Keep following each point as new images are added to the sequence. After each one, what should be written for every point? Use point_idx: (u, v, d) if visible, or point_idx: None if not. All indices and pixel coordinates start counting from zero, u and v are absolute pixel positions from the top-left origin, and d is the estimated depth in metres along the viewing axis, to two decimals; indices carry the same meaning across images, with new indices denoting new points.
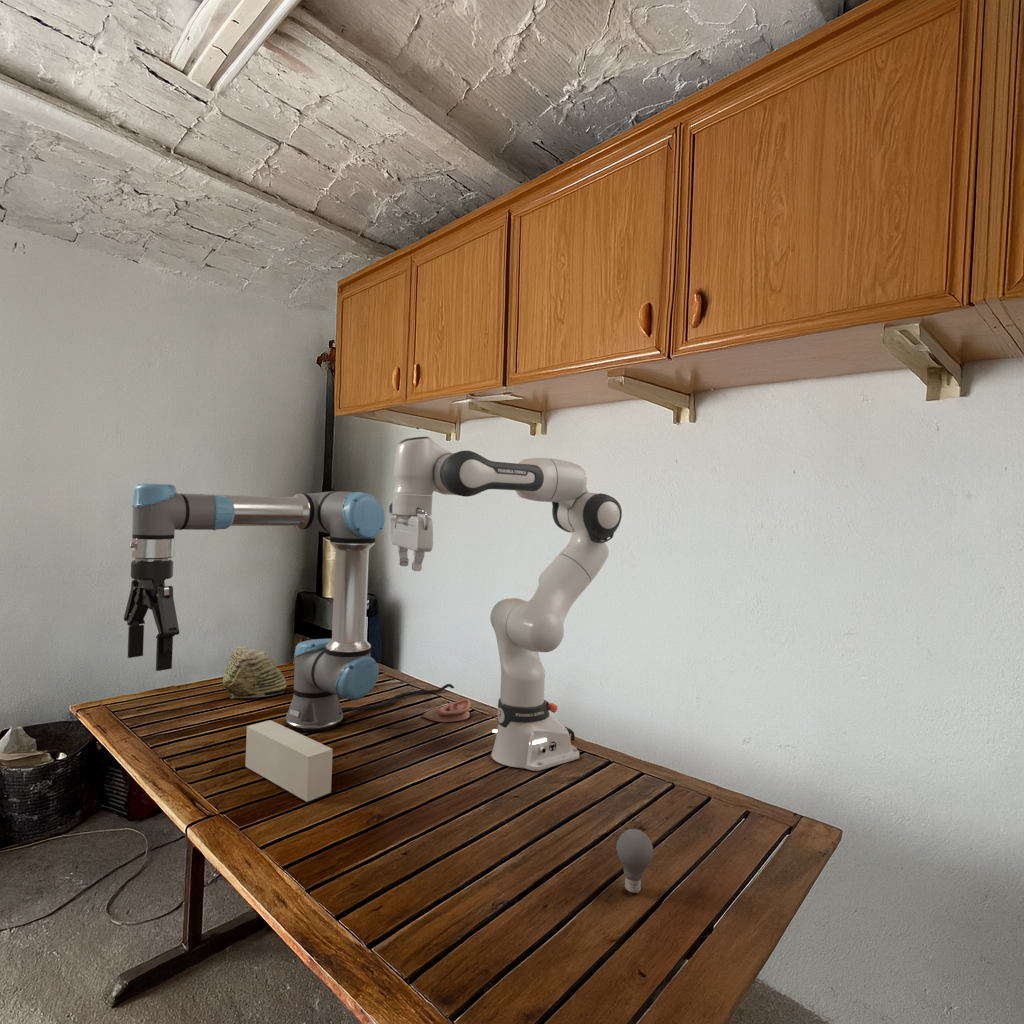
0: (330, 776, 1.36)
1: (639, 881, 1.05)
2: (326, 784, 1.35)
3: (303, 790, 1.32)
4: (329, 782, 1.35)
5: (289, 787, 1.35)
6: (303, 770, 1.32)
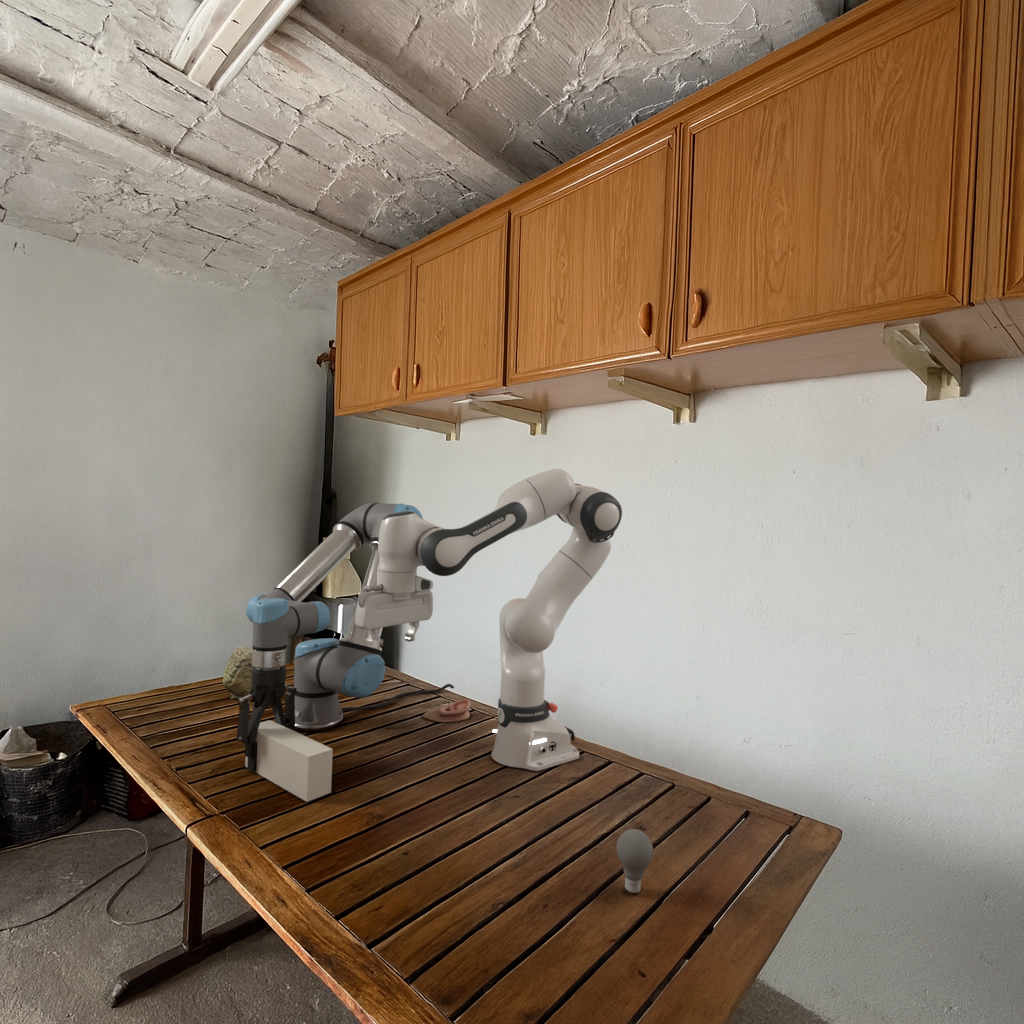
0: (330, 776, 1.36)
1: (639, 881, 1.05)
2: (326, 784, 1.35)
3: (303, 790, 1.32)
4: (329, 782, 1.35)
5: (289, 787, 1.35)
6: (303, 770, 1.32)
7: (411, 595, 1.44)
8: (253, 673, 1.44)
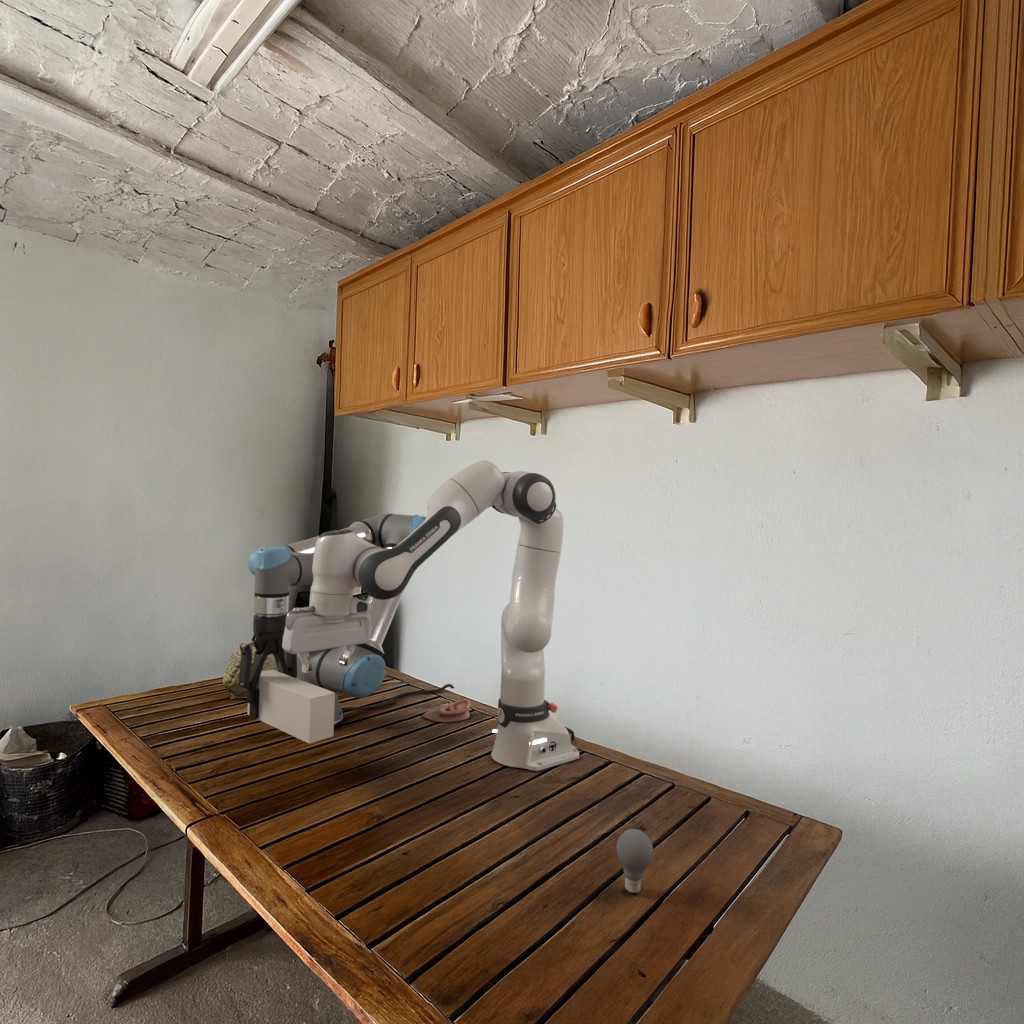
0: (332, 720, 1.35)
1: (639, 881, 1.05)
2: (329, 727, 1.35)
3: (305, 732, 1.32)
4: (331, 725, 1.35)
5: (291, 731, 1.35)
6: (305, 712, 1.32)
7: (346, 618, 1.37)
8: (255, 620, 1.43)
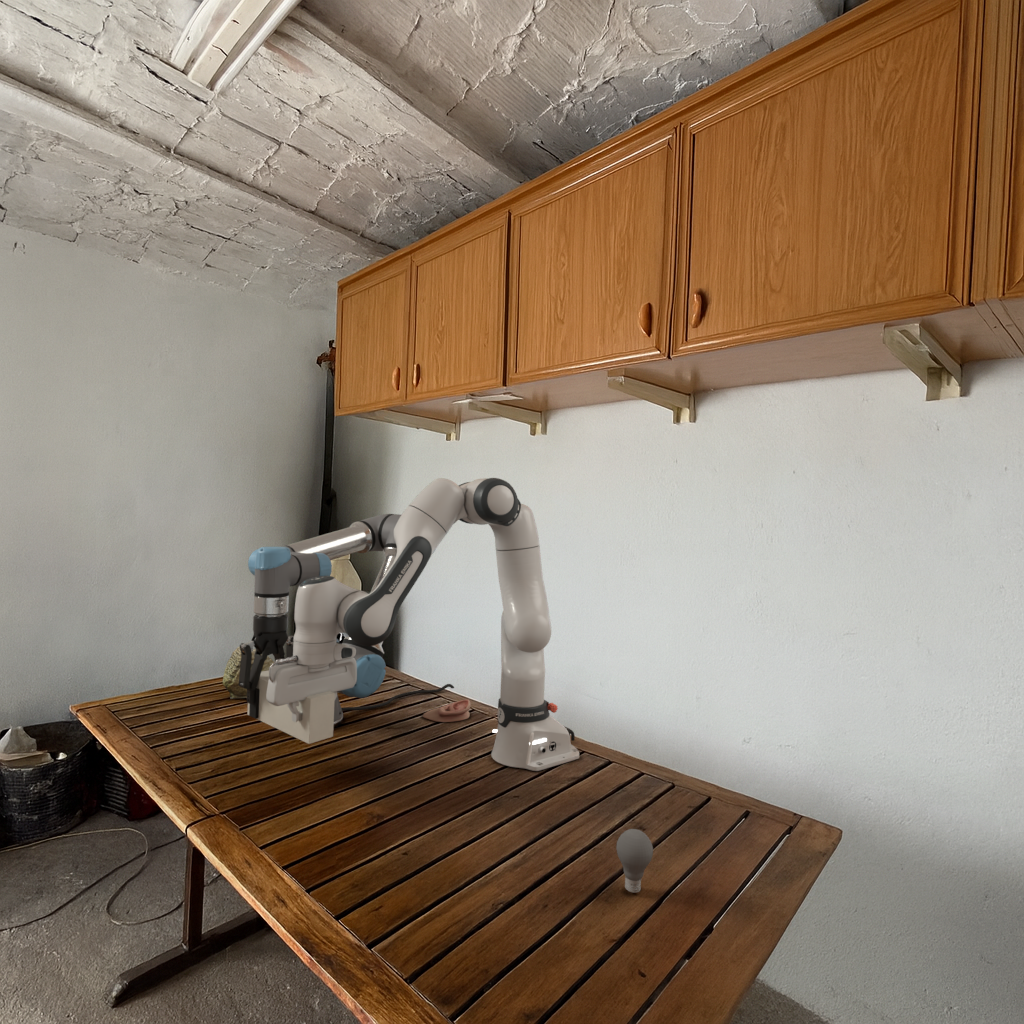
0: (332, 720, 1.35)
1: (639, 881, 1.05)
2: (328, 728, 1.35)
3: (305, 733, 1.32)
4: (331, 725, 1.35)
5: (291, 731, 1.35)
6: (305, 712, 1.32)
7: (331, 664, 1.36)
8: (255, 620, 1.43)
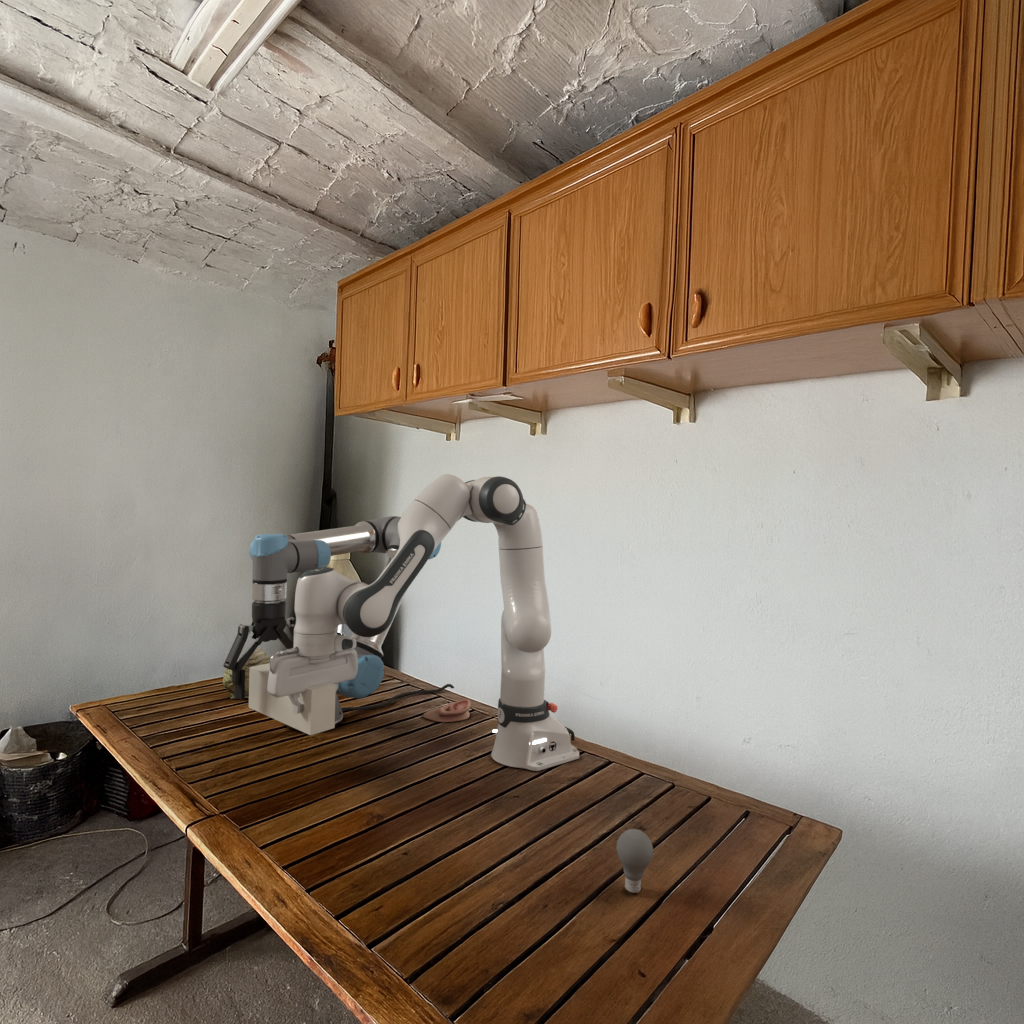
0: (333, 711, 1.35)
1: (639, 881, 1.05)
2: (330, 719, 1.35)
3: (306, 724, 1.32)
4: (332, 717, 1.35)
5: (292, 723, 1.35)
6: (306, 704, 1.32)
7: (331, 656, 1.36)
8: (254, 606, 1.44)
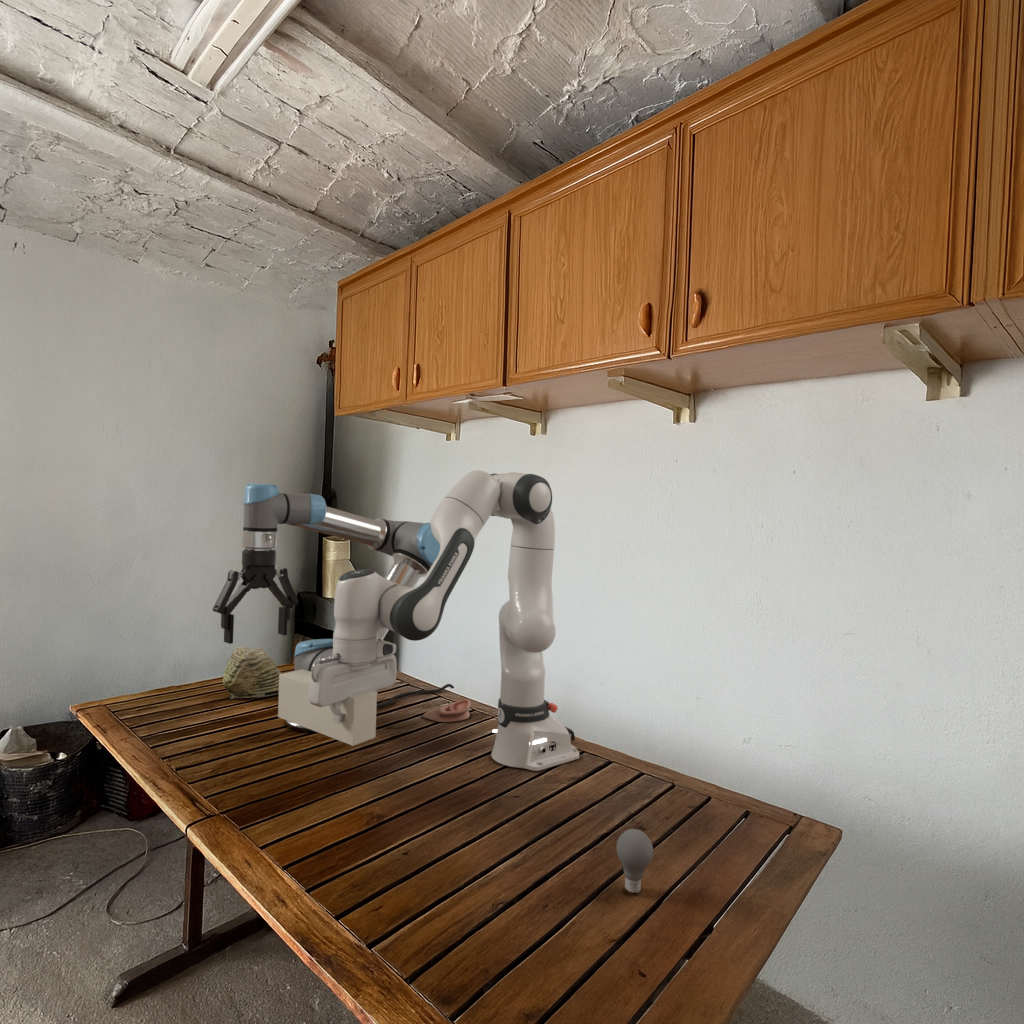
0: (374, 720, 1.29)
1: (639, 881, 1.05)
2: (371, 728, 1.28)
3: (348, 734, 1.25)
4: (373, 726, 1.29)
5: (331, 733, 1.28)
6: (347, 713, 1.26)
7: (372, 662, 1.30)
8: (244, 553, 1.47)
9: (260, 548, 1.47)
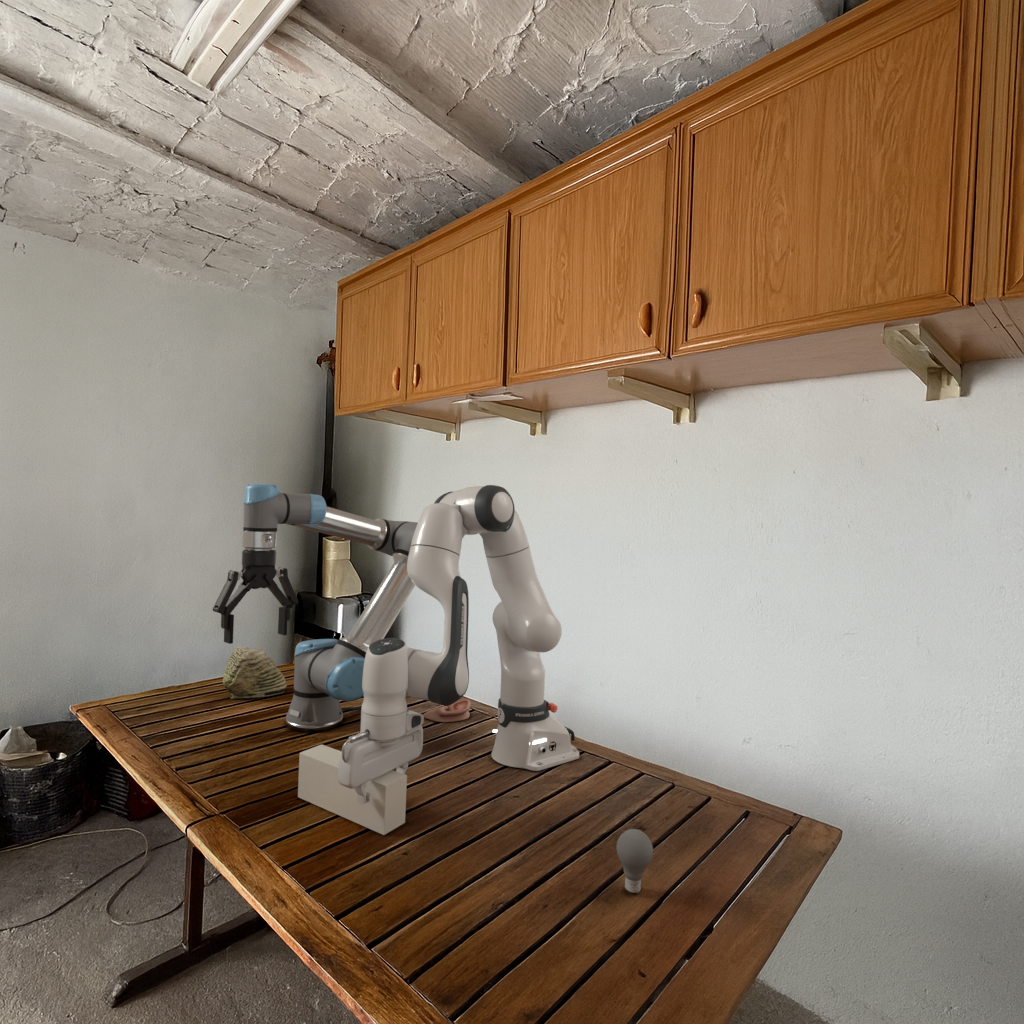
0: (404, 805, 1.24)
1: (639, 881, 1.05)
2: (401, 814, 1.24)
3: (379, 822, 1.20)
4: (403, 811, 1.24)
5: (359, 819, 1.23)
6: (378, 800, 1.21)
7: (400, 735, 1.25)
8: (244, 553, 1.47)
9: (260, 548, 1.47)
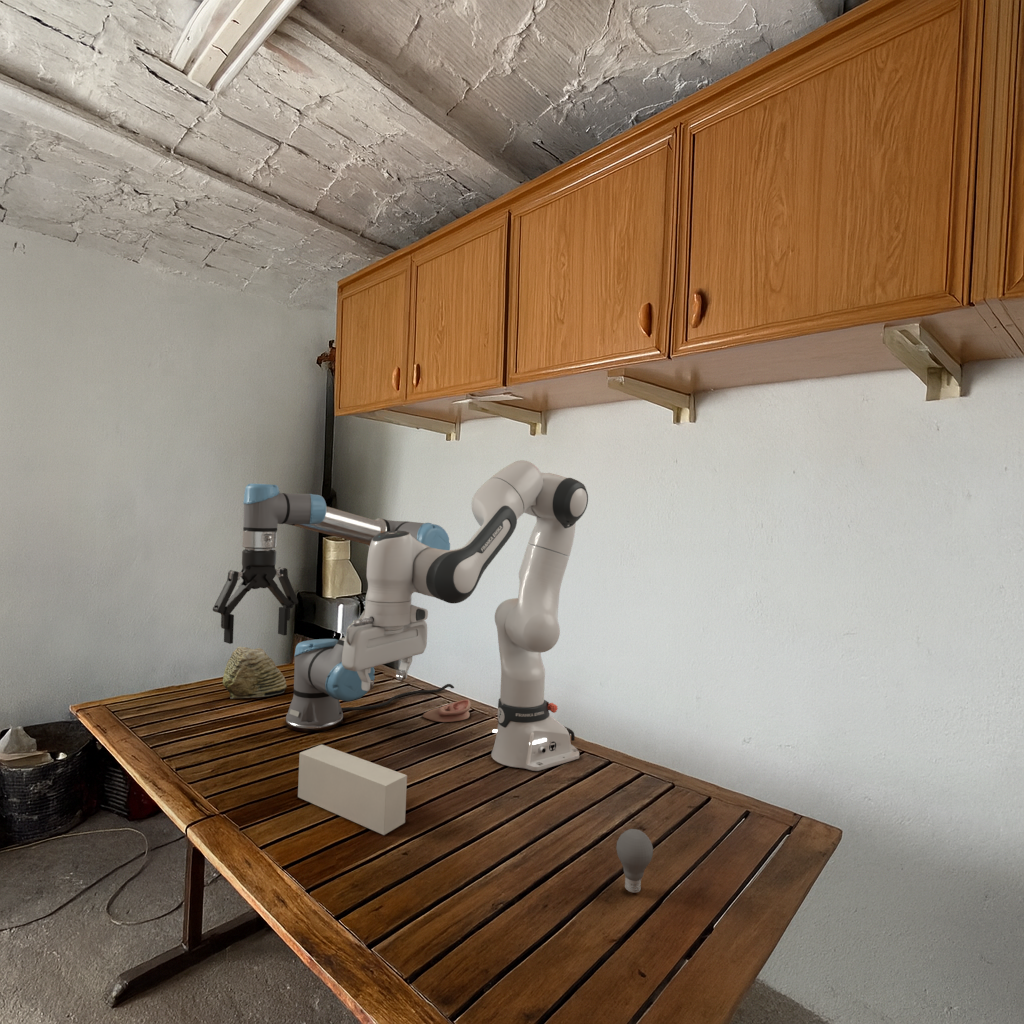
0: (404, 805, 1.24)
1: (639, 881, 1.05)
2: (401, 814, 1.24)
3: (379, 822, 1.20)
4: (403, 811, 1.24)
5: (359, 819, 1.23)
6: (378, 800, 1.21)
7: (404, 627, 1.25)
8: (244, 553, 1.47)
9: (260, 548, 1.47)
